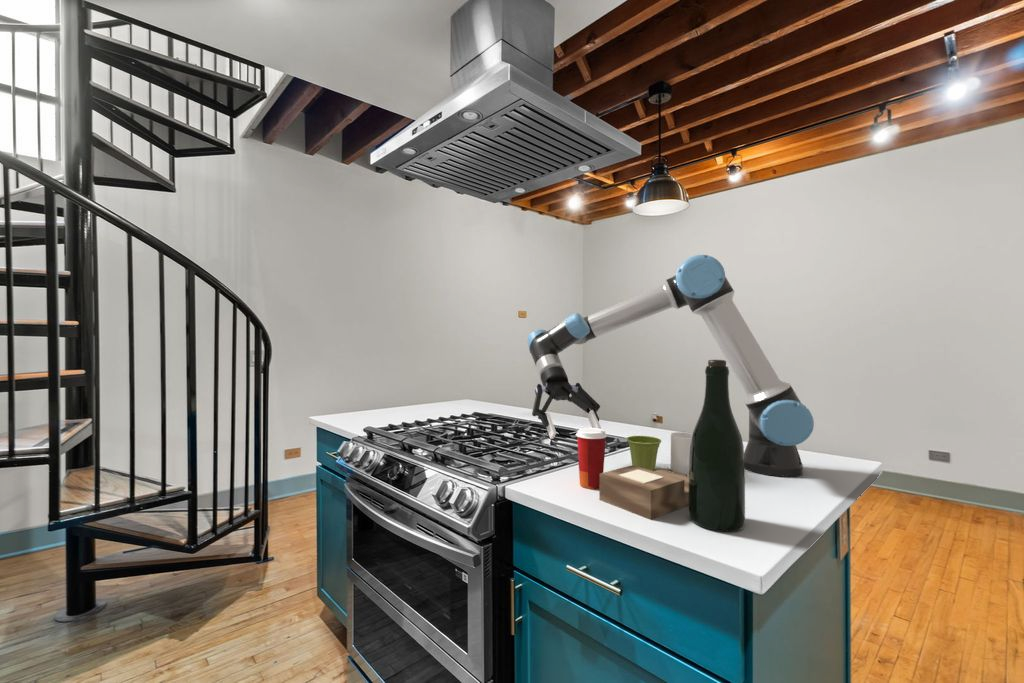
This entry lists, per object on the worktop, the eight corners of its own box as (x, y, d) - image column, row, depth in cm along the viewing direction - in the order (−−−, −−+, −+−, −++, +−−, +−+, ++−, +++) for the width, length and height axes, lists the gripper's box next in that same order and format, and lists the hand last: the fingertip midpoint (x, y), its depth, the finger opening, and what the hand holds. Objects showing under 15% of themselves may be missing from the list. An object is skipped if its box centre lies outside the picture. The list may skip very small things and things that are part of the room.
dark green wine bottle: (729, 512, 95) (730, 358, 95) (755, 533, 85) (757, 361, 84) (680, 511, 95) (681, 358, 95) (700, 533, 85) (701, 360, 85)
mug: (714, 480, 117) (714, 441, 117) (683, 480, 116) (683, 441, 116) (694, 467, 129) (694, 432, 129) (666, 467, 128) (666, 432, 128)
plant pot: (665, 474, 122) (665, 443, 122) (631, 474, 122) (631, 442, 122) (655, 465, 131) (655, 435, 131) (623, 464, 131) (623, 435, 131)
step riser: (662, 480, 117) (662, 456, 116) (713, 495, 105) (713, 469, 105) (599, 499, 102) (599, 472, 102) (650, 519, 91) (650, 489, 91)
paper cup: (609, 483, 114) (609, 428, 114) (602, 492, 107) (602, 434, 107) (580, 479, 117) (580, 426, 117) (571, 487, 110) (571, 431, 110)
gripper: (584, 380, 138) (610, 438, 124) (509, 382, 129) (529, 445, 115) (593, 364, 133) (622, 423, 119) (516, 365, 124) (537, 429, 110)
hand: (576, 434), depth 117 cm, fingers open, 13 cm apart
